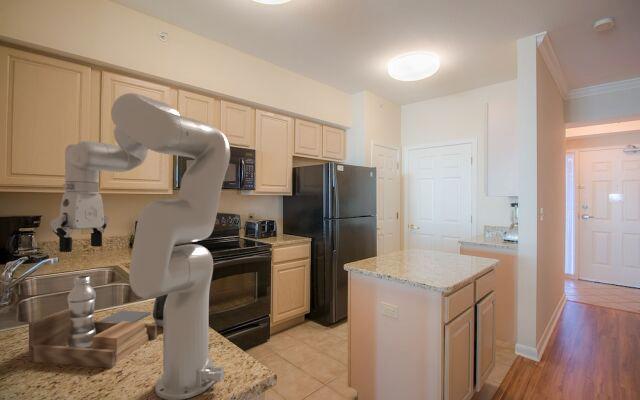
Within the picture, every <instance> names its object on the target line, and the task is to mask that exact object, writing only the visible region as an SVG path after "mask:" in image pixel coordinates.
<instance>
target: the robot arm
mask: <svg viewBox="0 0 640 400" xmlns="http://www.w3.org/2000/svg"><path fill="white" fill-rule="evenodd" d="M110 116H111V117H110V118H111V120H112V122H113V124H114V125H115V127H114V130H113V135H114V136H113V137H114V139H115V142H116V144H117V145H116V144H112V143H111V144H109V143H103V142H96V141H89V140H84V141H83V140H82V141H79V142H78V143H76V144H73V143H72V144H68V145H66V146H65V151H64V184H62V188H63V190H64V193H63V195H62V196H61V197H62V198H61V204H60V209H59V210H60V211H59V216H58V217H56V218H54V219H52V220H51V221H49V225H50V227H51V229H52V232H53V233H54V234H55V235H56V237H57V238H59V240H58V243H59V244H58V245H59V246H58V247H59V253H72V251H73V238H72V237H71V235H72V233H73V232H74V231H75V230H78V231H79V230H86V229H88V230H89V229H90V230H91V233H90V246H91V247H96V248H99V247H103V233H105V229H106V228H107V225H108V223H109V217H108V216H105V214H104V203H103V198H102V194H101V193H99V171H104V172H105V171H107V172H114V173H115V172H116V173H117V172H119V173H124V172H128V171H132V170H133V169H135V168H137V167H139V166H141V165H143V164H144V162H145V161H146V159H147V156H148V152H149V151H153V152H154V153H159V154H163V155H170V156H171V155H172V156H177V157H178V156H179V157H185V158H192V159H194V161H193V162H192V163H191V164H190V165H189V166H188V168H187V169H186V171H185V172H184V174H183V175H182V178H181V181H180V188H179V192H178V195H177V198H169V199H167V198H164V199H163V198H161V199H157V200H153V201H151V202H150V203H147V204H146V205H145V207H143V209H142V210H141V212H140V214H139V216H138V218H137V222H136V228H135V233H134V239H133V243H132V244H133V245H132V250H131V251H132V252H131V255H130V257H131V258H130V263H129V271H128V276H129V277H128V279H129V285H130V289H131V291H132V292H133V293H134V295H136V297H138V298H141V299H147V300H148V299H156V297H160V296H163V295H166V294H168V296H167V298H166V301H165V305H164V311H163V327H162V332H163V333H162V340H163V341H162V351H163V353H162V357H163V358H162V367H163V368H162V371H163V373H162V375H161V376H160V377H159V378H158V379H157V381H156V383H155V390H154V391H155V394H156V395H157V396H158V397H159V398H161V399H164V400H185V399H189V398H193V397H195V396H198V395H200V394H202V393H203V392H205V391H207V390H209V388H210V387H212V385H214V383H215V382H221V383H222V382H223V380H224V378H225V372H224V366H219V365H218V366H215V365H214V362H213V361H214V359H213V358H209V351H210V350H209V348H210V347H209V330H210V329H209V326H210V325H209V317H210V316H209V313H210V310H209V308H210V307H209V306H210V305H209V301H210V287H211V281H212V278H213V273H214V259H213V255H212V253H211V252H210V250H208V248H206V247H204V246H203V245H200V244H194V243H195V242H198V241H203V240H206V239H208V238H209V237H211V235H212V233H213V231H214V228H215V223H216V220H217V215H218V210H219V204H220V200H221V193H222V189H223V188H222V187H223V183H224V180H225V176H226V174H227V171H228V168H229V164H230V160H231V147H230V144H229V141H228V138H227V136H225V134H224V133H223V132H222V131H221V130H220V129H218V128H217V127H215V126H213V125H211V124H208V123H206V122H203V121H201V120H197V119H194V118H190V117H187V116H186V117H185V116H184V115H181V114H180V113H179V111H178V110H177V109H176V108H175V107H173V106H172V105H170V104H167V103H166V102H162V101H161V100H157V99H153V98H151V97H147V96H145V95H141V94H138V93H134V92H133V93H132V92H131V93H130V92H129V93H124V94H122V95H120V96H119V97H118V98H116V99H115V101H114V102H113V104H112V106H111V111H110ZM148 150H149V151H148ZM188 243H189V244H188ZM190 243H191V244H190ZM192 243H193V244H192ZM182 244H183V245H182Z"/></svg>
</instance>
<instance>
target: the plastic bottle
mask: <svg viewBox="0 0 640 400" xmlns="http://www.w3.org/2000/svg"><path fill="white" fill-rule="evenodd" d="M90 283H91V276H90V275H79V276H75V277H74V278H73V285H74V287H73V288H72V289H71V290H70V292H69V293H68V294H67V303H68V308H69V310H70V330H69V335H68V341H67V342H68V345H67V347H81V348H91V343H93V336H95V335H96V330H95V326H94V321H95V315H94V314H95V313H94V312H95V303H96V297H97V296H96V295H97V293H96V290H95V289H94V288H93V287H92V286H91V285H90Z"/></svg>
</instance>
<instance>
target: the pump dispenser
mask: <svg viewBox="0 0 640 400" xmlns="http://www.w3.org/2000/svg"><path fill="white" fill-rule="evenodd" d="M167 296H168V294H166V295H163V296H160V297H156V298H154V299H155V300H154V303H153V307H152V308H153V309H152V318H153V321H154V324H157V327H160V328H163V311H164V305H165V301H166V298H167Z"/></svg>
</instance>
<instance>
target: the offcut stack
mask: <svg viewBox="0 0 640 400" xmlns="http://www.w3.org/2000/svg"><path fill="white" fill-rule="evenodd" d="M145 324H146V323H145V322H144V321H137V322H131V321H122V322H120V323H118V324H116V325H115V326H113V327H111V328H109V329H107V330H105V331H103V332H101V333H99V334H97V335H95V336H93V343H91V346H90V348H95V349H109V350H115V363H118V362H119V361H121V360H122V359H124V358H125V357H127V356H128V355H130V354H131V353H133V352H134V351H135V350H137V349H139V348H140V347H142V346H143V345H145V344H146V343H147V342H149V339H148V334H147V328H145Z"/></svg>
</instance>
